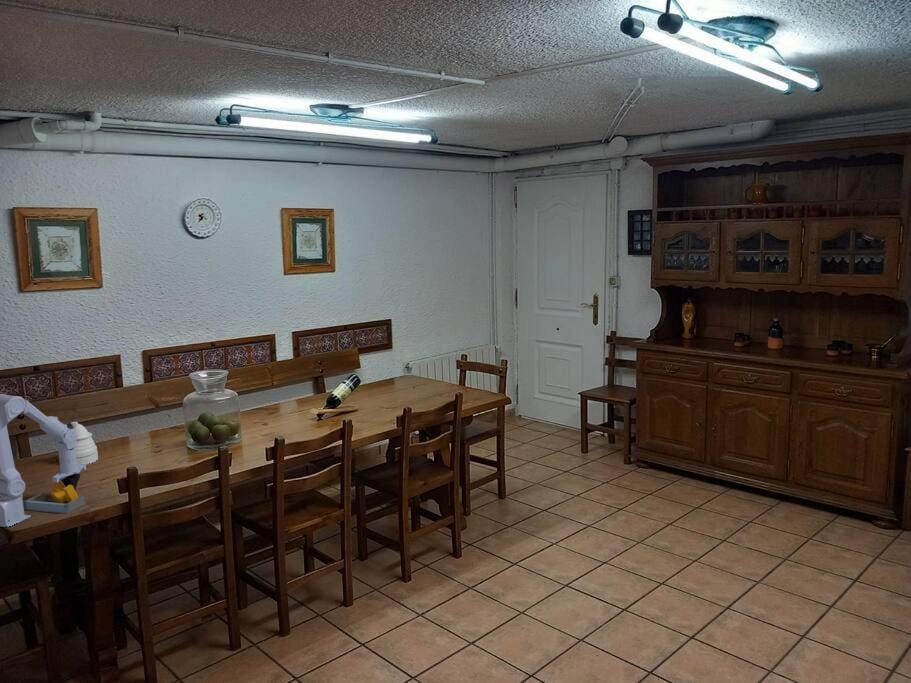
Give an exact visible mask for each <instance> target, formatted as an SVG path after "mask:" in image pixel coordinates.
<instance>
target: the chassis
mask: <svg viewBox="0 0 911 683" xmlns="http://www.w3.org/2000/svg"><path fill="white" fill-rule="evenodd" d="M46 494H47V493H46V492H41V493H39V494H37V495H35V496H31V497H30V498H28V499H26V500H23V507H24V511H27V510H28V511H39V512H49V513H60V514H62V513H63V514H69V513H70V512H73V511H74V510H77V509H78V508H80V507H82V506H84V505H86V495H81V496H79V498H77V499H75V500H73V501H71V502H69V501H68V502H67V503H60V502H49V501H47V495H46Z"/></svg>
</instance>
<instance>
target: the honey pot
mask: <svg viewBox="0 0 911 683" xmlns="http://www.w3.org/2000/svg"><path fill="white" fill-rule="evenodd" d="M70 424H71V426H72V428H71V429H73V430H75V431H76V434H78V439H77V441H76V446H75V447H76V456H77V465H81V464H86V465H90V464H92V462H93V463H95V462H97V461H98V460H99V454H98V447H97V445H96V442H94V439H93V437H92V436H93V433H92V432H89V431H88V430H87V428H86V427H85V426H84V425H82V424H80V423H79V422H78V421H72V422H70ZM96 460H97V461H96ZM89 463H90V464H89Z"/></svg>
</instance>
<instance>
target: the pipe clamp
mask: <svg viewBox="0 0 911 683" xmlns="http://www.w3.org/2000/svg"><path fill="white" fill-rule="evenodd" d="M50 485H51V487H52V488H53V490H52V491H51V492H49V493H50V496H51V497H52V500H54V501H56V502H57V503H62V504H65V502H68V503H69V502H71V501H73V500H75V499H77V498H79V497H80V496H79V495H78V493H77V490H76V491H75V489H74V487H73V485H68V486H67V487H65V485H64V484H63V482H62V481H61V480H60V481H59V482H57V483H56V482H53V481H51V482H50Z"/></svg>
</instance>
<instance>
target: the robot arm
mask: <svg viewBox="0 0 911 683" xmlns="http://www.w3.org/2000/svg"><path fill="white" fill-rule="evenodd" d="M20 414H23V415H25V416H26V417H27V418H29V419H31V420H33V421H34V422H36V423H37V424H38V425H39V428H40V430H42V431H43V432H44V433H46V435H47V434H48V436H50V437H52V440H53V442H56V443H57V444H56V446H57V453H58V461H59V468H60V470H59V472H58V473H56V474H55V475H54V476H52V478H51V479H52V482H56V483H57V482H59V481H60V482H61V483H62V484H63V486H64V487H67V486H68V485H73V487H74V489H75V491H76V492H77V490H76V489H77V485H78V482H79V481H80V477H81V474H80V472H81V471H85V470H87V464H81V465H77V456H76V447H75V446H76V441H77V439H78V434H76V431H75V430H73V429H72V428H69V427H68V424H66V423H63V422H61V421H60V420H59V417H58V416H53V415H49V416H47V415H46V414H44V413H43V412H41V411H40V410H39V409H38V408H37V407H35V406H34V405H33V404H32V403H31V402H30V401H29V400H27V399H24V398H23V397H22V396H19V395H9V394H4V393H0V528H1V527H2V528H3V527H4V528H10V527H9V526H11V527H13V526H15V525H17V524H19V523H22V522H23V521H25V520H27V519H29V518H31V517H32V515H31V514H25V509H24V504H23V501H24V500H23V493H24V492H25V490H26V482H25V481H24V480H23V479H22V475H21V474H20V472H19V471H18V470H17V469H16V465H15V461H14V457H13V452H12V446H11V441H10V436H9V430H8V426H7V425H8V424H9V423H10V422H11V421H13V420H14V419H15V418H16V417H18V416H19V415H20ZM16 523H17V524H16ZM14 524H15V525H14ZM12 525H13V526H12ZM6 526H7V527H6Z"/></svg>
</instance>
